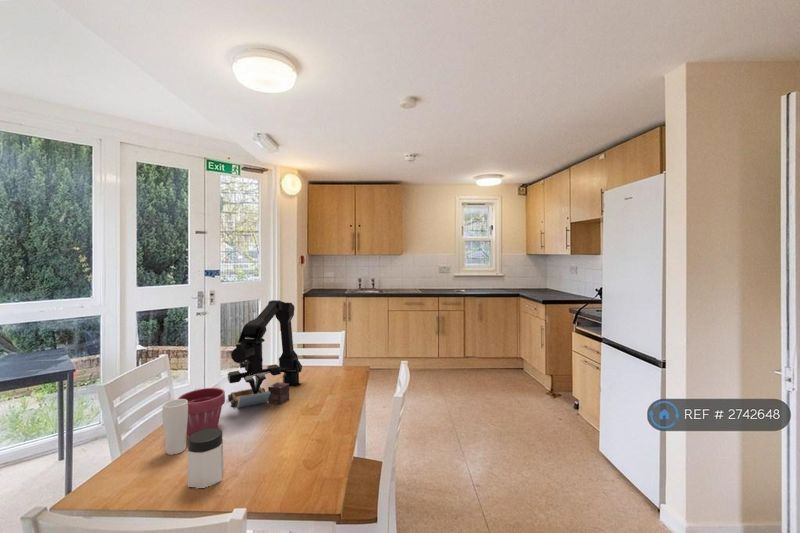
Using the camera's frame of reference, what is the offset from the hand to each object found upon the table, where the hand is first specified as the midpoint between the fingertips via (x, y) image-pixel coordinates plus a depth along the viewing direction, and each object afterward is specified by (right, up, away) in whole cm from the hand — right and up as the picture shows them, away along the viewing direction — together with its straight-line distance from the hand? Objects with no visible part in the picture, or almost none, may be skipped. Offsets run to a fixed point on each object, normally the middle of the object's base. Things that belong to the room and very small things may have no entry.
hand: (255, 395), depth 142 cm
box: (+7, -6, +8) cm, 12 cm away
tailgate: (-1, -3, +1) cm, 3 cm away
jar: (+5, -7, -45) cm, 46 cm away
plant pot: (-11, -7, -18) cm, 22 cm away
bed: (-7, -6, +10) cm, 13 cm away
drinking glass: (-12, -7, -30) cm, 33 cm away
